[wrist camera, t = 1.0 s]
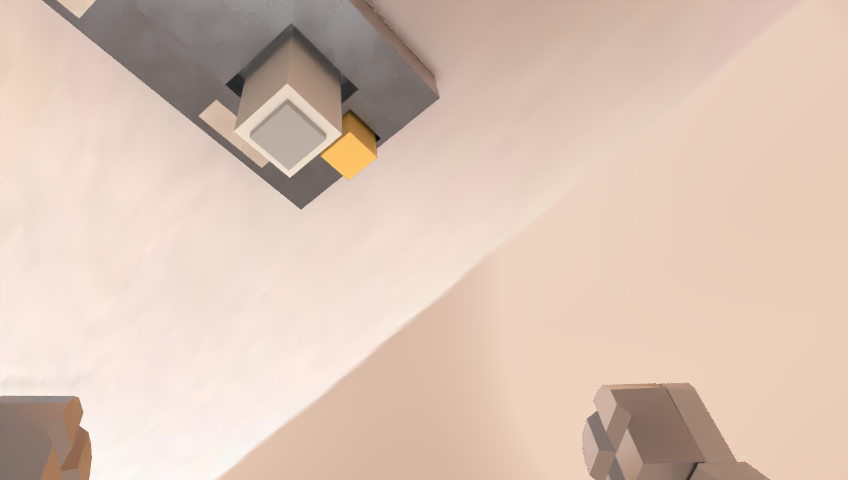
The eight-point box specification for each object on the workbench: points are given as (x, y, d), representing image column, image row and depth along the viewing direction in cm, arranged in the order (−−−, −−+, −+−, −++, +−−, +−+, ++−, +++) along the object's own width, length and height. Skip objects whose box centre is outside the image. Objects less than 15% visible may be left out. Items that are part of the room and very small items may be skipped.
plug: (293, 24, 43) (286, 88, 36) (340, 71, 45) (342, 139, 38) (247, 67, 44) (232, 137, 37) (295, 110, 46) (289, 183, 39)
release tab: (348, 100, 45) (349, 131, 42) (374, 125, 46) (377, 157, 43) (321, 123, 46) (320, 156, 43) (347, 147, 47) (348, 180, 44)
